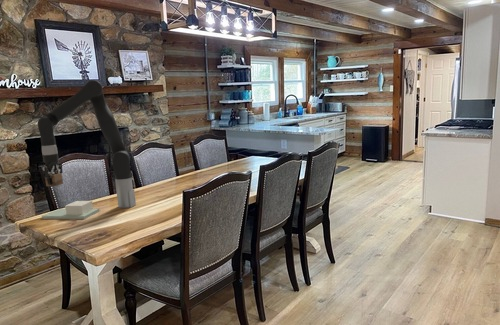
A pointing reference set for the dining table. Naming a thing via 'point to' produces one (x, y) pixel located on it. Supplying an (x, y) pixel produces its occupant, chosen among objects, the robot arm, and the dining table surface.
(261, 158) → the dining table surface
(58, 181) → the walnut cube
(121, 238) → the dining table surface
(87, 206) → the block
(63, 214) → the serving board
